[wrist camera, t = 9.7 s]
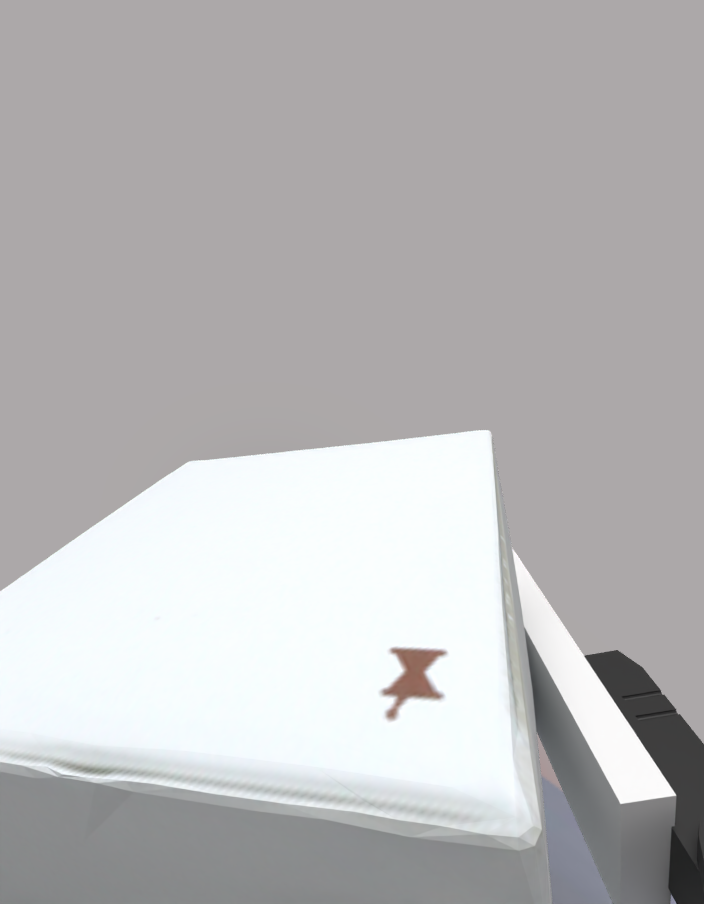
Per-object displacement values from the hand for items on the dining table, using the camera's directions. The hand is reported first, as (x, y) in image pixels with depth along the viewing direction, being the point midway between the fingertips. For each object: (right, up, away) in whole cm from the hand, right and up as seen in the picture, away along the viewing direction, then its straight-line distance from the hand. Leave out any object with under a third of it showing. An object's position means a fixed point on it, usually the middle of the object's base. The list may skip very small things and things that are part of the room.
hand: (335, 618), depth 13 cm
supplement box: (+2, -8, -2) cm, 9 cm away
